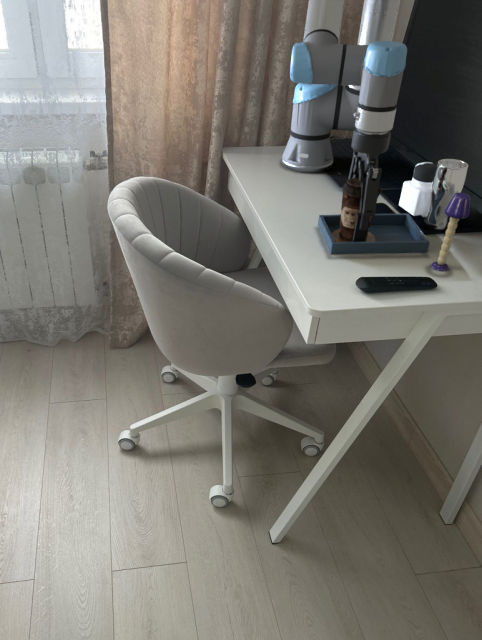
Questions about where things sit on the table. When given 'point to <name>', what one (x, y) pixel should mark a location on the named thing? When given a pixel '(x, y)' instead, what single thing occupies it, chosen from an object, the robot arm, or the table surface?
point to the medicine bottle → (418, 190)
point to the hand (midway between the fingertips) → (354, 232)
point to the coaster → (338, 239)
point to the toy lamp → (452, 227)
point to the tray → (378, 235)
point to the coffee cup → (351, 208)
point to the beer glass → (444, 191)
